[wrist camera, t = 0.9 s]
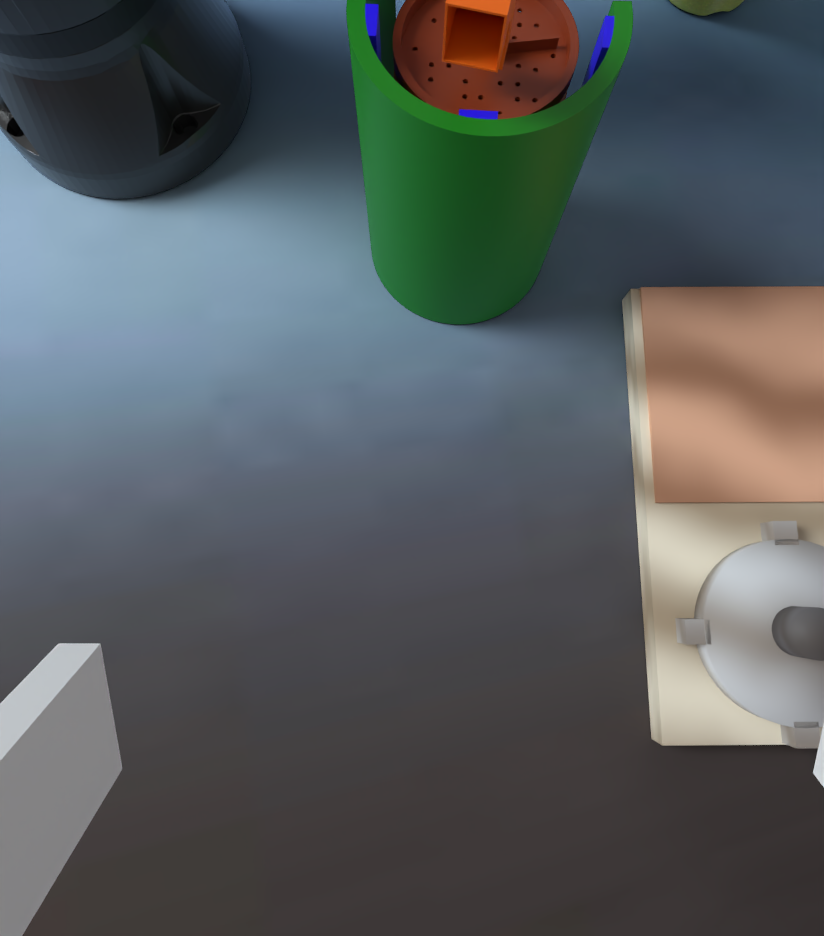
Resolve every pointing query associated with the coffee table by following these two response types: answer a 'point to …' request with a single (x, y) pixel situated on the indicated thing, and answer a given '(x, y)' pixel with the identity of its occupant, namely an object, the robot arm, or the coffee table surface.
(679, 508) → the board
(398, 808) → the coffee table surface
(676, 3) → the plant pot
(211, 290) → the coffee table surface
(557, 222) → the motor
